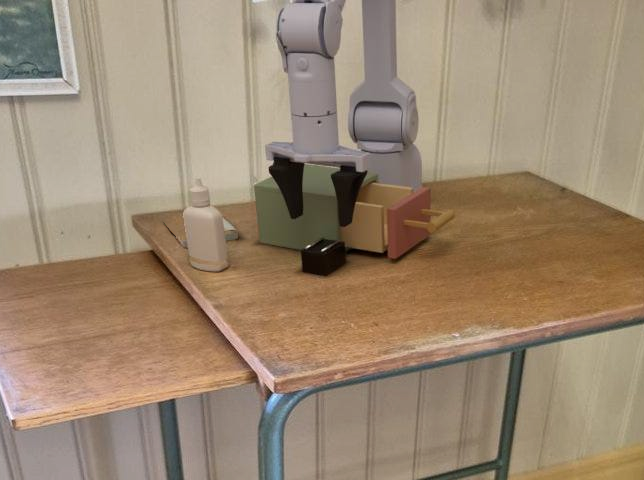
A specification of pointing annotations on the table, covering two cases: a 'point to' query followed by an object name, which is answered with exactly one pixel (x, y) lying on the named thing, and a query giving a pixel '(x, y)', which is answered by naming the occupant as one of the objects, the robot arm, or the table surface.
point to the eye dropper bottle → (204, 230)
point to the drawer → (392, 219)
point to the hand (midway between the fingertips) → (321, 220)
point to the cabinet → (316, 210)
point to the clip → (323, 256)
